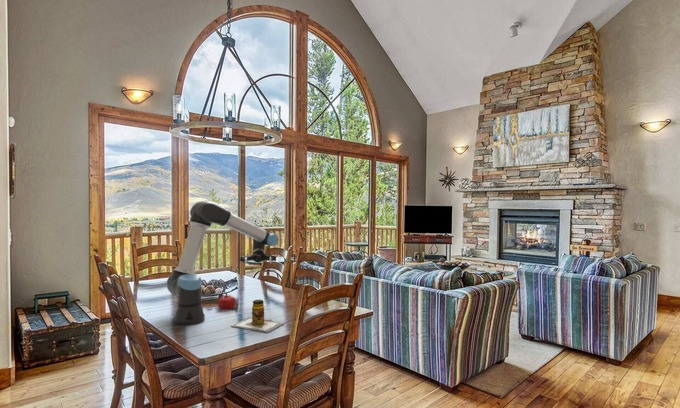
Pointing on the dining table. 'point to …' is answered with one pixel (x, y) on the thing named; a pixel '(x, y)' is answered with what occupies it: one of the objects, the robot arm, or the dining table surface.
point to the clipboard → (264, 328)
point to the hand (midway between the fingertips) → (258, 261)
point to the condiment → (257, 313)
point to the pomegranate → (226, 302)
